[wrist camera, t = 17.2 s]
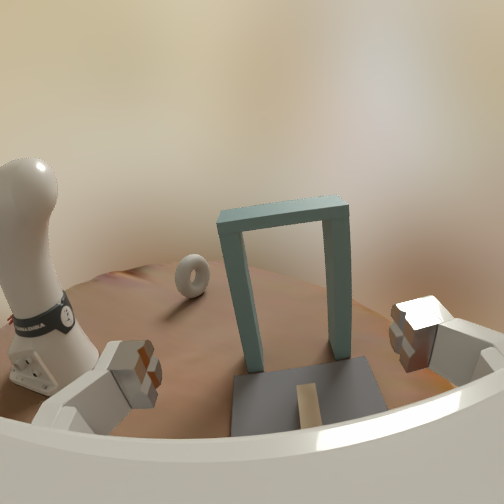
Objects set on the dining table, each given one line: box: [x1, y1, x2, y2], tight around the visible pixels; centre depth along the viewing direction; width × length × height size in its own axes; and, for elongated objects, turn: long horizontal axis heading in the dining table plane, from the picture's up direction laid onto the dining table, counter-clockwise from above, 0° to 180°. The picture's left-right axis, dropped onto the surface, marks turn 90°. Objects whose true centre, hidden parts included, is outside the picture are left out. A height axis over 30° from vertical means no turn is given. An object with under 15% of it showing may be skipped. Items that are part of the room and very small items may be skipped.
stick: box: [296, 383, 322, 429], centre depth 29 cm, size 2×19×3 cm, turn 178°
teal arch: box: [216, 195, 352, 373], centre depth 44 cm, size 16×6×24 cm, turn 89°
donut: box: [175, 254, 210, 298], centre depth 71 cm, size 10×4×10 cm, turn 146°
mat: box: [231, 356, 388, 437], centre depth 33 cm, size 20×25×1 cm
